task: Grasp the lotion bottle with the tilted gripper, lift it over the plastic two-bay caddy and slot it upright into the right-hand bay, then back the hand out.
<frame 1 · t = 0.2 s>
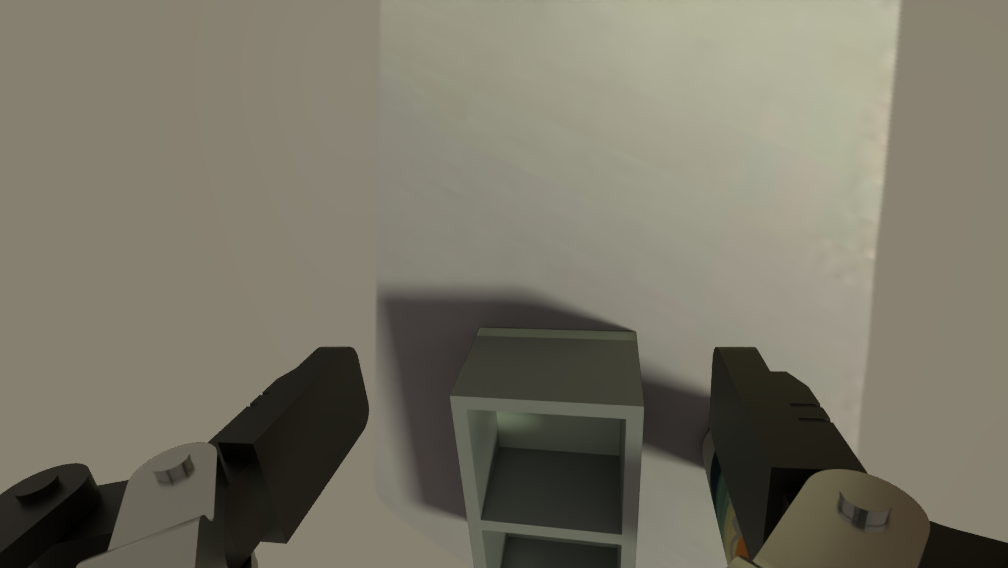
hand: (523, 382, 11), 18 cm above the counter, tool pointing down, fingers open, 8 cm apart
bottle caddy: (559, 445, 35), on the counter
lotion bottle: (746, 444, 32), on the counter
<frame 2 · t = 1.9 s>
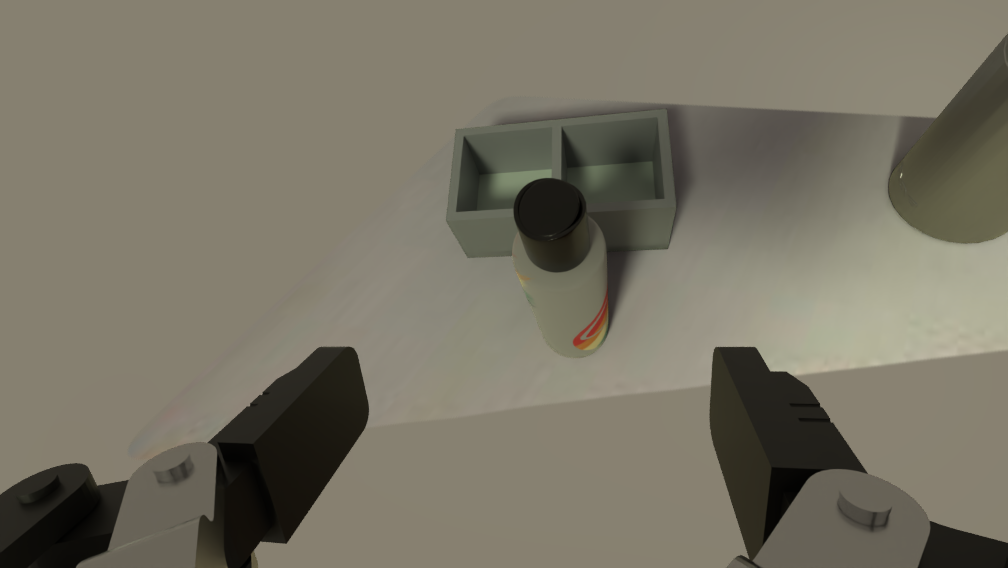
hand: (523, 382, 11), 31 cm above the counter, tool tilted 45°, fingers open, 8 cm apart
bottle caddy: (563, 208, 48), on the counter
lotion bottle: (575, 328, 44), on the counter
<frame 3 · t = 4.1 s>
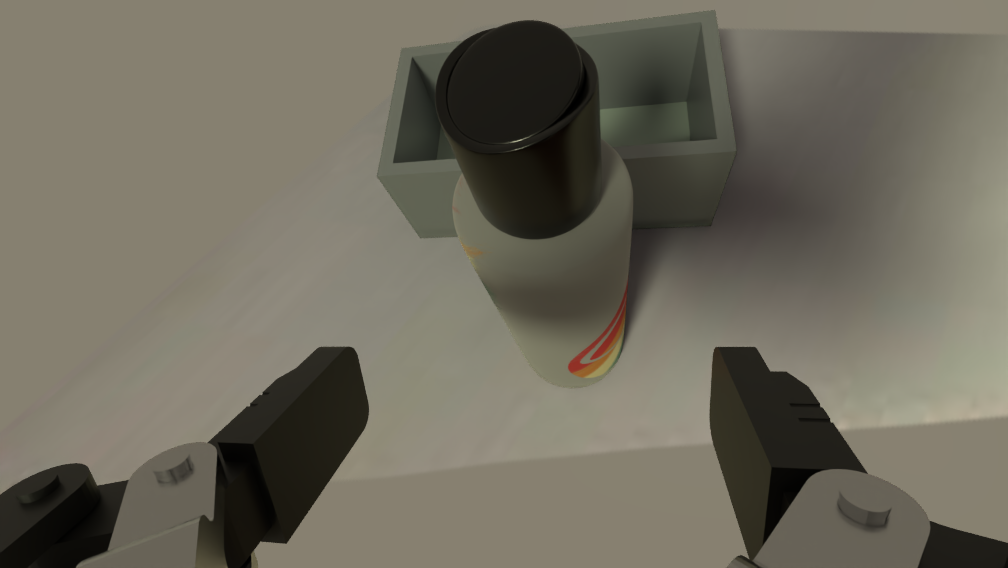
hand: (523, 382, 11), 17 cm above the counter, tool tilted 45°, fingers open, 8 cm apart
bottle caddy: (558, 170, 34), on the counter
lotion bottle: (572, 342, 29), on the counter
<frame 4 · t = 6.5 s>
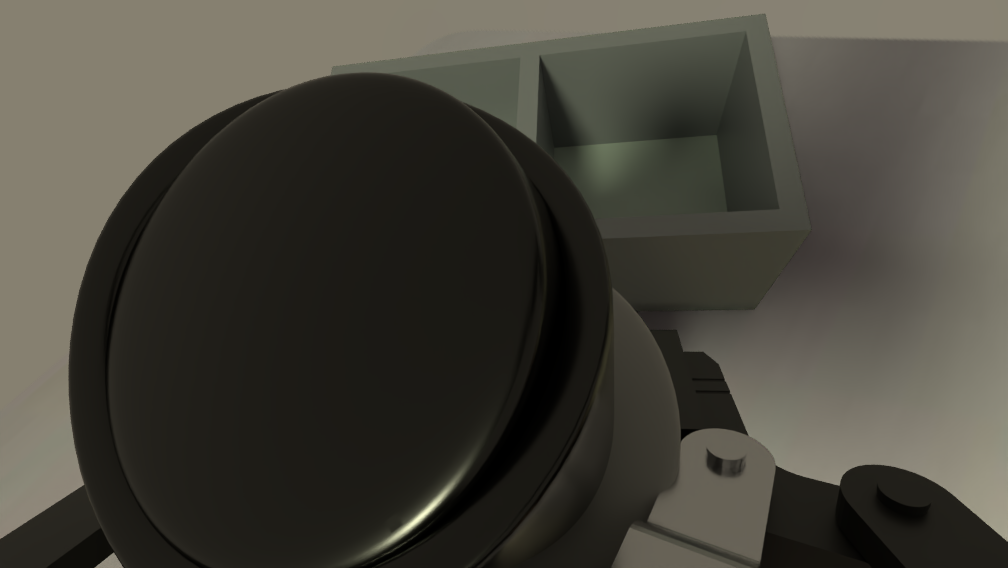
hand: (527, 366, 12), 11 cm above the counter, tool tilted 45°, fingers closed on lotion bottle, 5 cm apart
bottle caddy: (547, 224, 26), on the counter
lotion bottle: (565, 475, 21), on the counter, touching gripper
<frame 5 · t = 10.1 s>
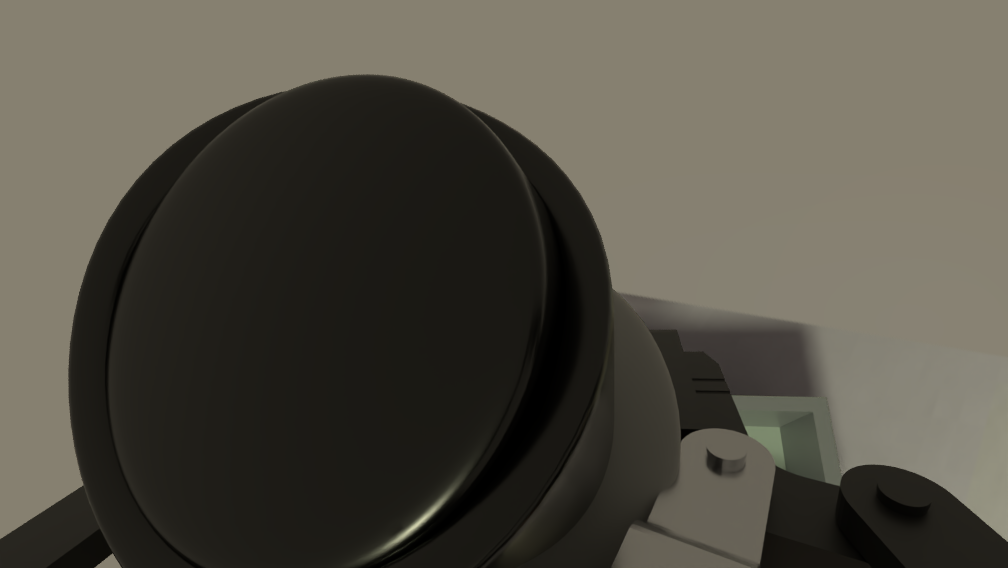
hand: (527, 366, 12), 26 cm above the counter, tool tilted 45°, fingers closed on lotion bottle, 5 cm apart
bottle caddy: (648, 486, 34), on the counter
lotion bottle: (565, 475, 21), point 15 cm above the counter, touching gripper
when the fingers open (13 cm above the counter, at t = 13.7 s): lotion bottle drops 1 cm, resting on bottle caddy.
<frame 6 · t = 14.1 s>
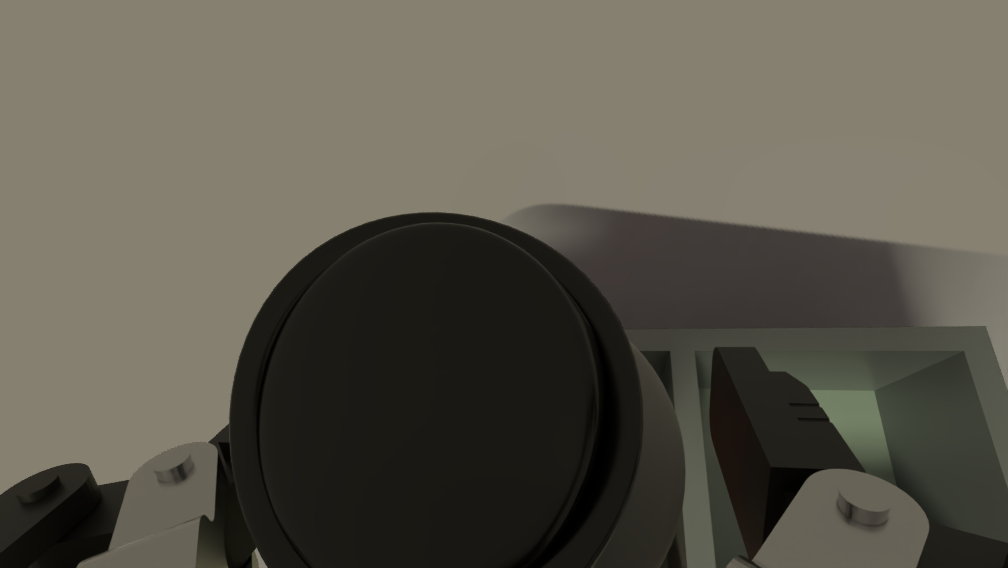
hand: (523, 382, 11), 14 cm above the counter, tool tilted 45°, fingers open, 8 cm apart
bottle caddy: (670, 483, 22), on the counter
lotion bottle: (571, 484, 22), point 1 cm above the counter, touching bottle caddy
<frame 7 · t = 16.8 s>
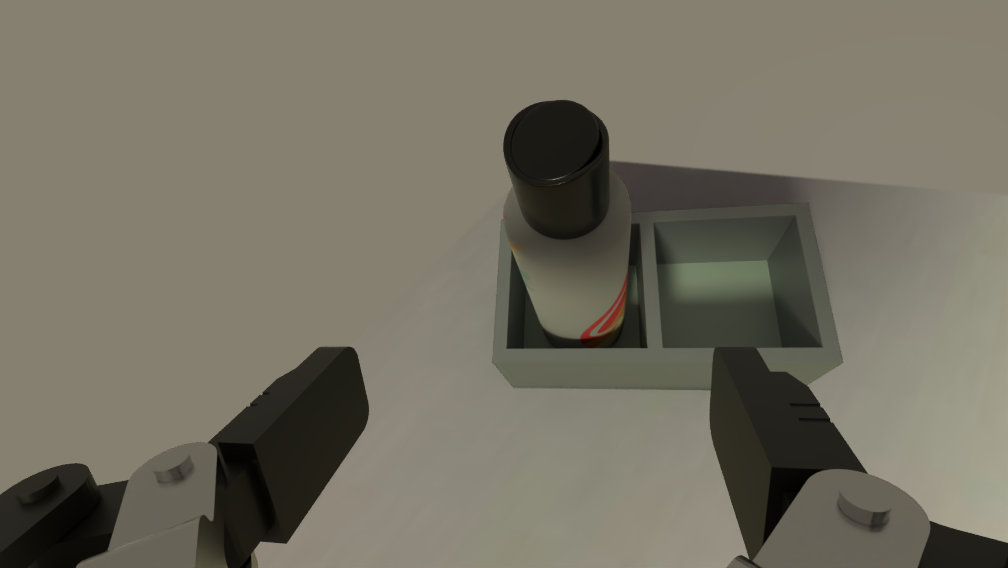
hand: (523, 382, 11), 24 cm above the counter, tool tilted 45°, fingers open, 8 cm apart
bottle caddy: (643, 321, 36), on the counter
lotion bottle: (583, 322, 36), point 1 cm above the counter, touching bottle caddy
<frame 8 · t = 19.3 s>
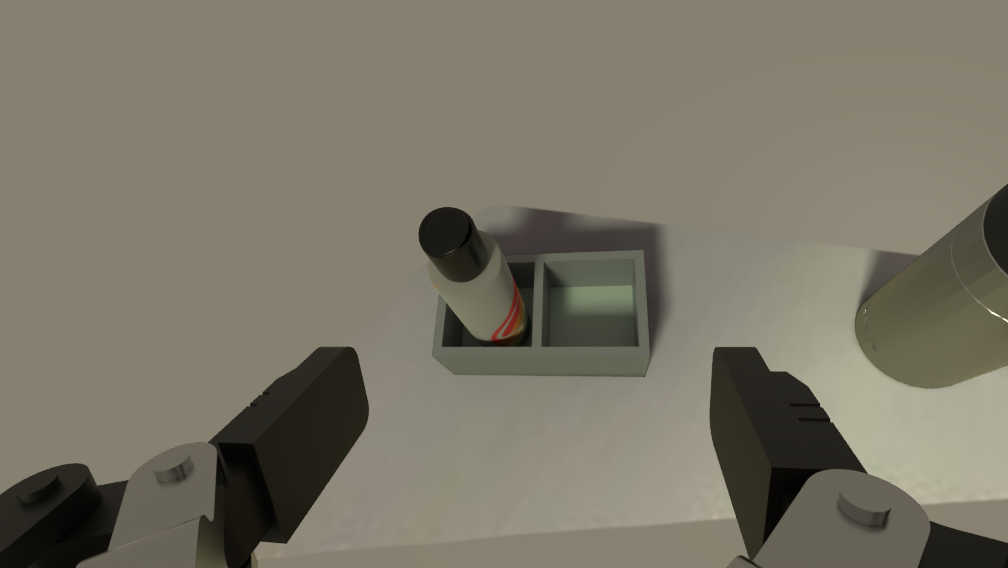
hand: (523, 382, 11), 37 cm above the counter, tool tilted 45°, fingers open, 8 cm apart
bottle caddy: (547, 328, 50), on the counter
lotion bottle: (504, 328, 50), point 1 cm above the counter, touching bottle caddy
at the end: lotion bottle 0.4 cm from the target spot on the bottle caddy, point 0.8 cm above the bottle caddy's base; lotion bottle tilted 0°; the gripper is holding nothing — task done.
